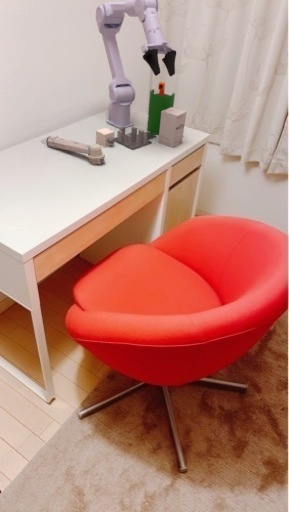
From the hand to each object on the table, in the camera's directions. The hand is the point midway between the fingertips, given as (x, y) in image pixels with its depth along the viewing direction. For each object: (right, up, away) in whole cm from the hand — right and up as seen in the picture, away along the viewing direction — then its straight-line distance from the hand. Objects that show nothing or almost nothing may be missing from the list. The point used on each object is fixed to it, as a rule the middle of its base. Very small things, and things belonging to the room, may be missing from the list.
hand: (165, 74), depth 121 cm
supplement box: (+3, -16, +24) cm, 29 cm away
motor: (-1, -8, +32) cm, 33 cm away
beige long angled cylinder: (-32, -25, +9) cm, 42 cm away
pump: (-23, -18, +18) cm, 34 cm away
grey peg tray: (-10, -15, +23) cm, 29 cm away
